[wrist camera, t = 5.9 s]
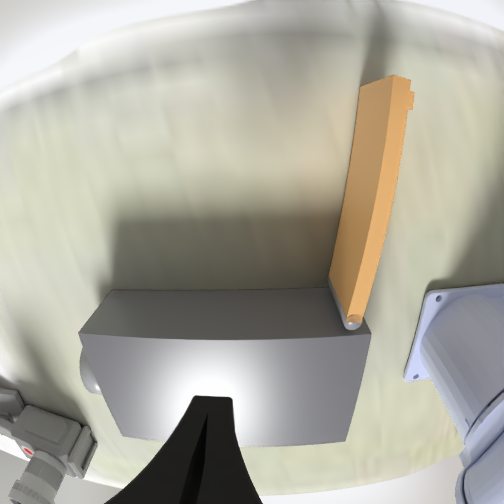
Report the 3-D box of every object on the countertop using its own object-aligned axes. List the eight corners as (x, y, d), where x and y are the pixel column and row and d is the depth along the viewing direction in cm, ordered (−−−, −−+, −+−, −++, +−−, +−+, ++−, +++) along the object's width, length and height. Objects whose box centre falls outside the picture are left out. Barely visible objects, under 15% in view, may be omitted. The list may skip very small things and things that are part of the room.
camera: (73, 538, 17) (-30, 482, 17) (104, 456, 28) (9, 420, 28) (34, 505, 14) (-69, 436, 14) (83, 409, 25) (-18, 372, 25)
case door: (348, 287, 19) (369, 331, 15) (325, 285, 19) (342, 329, 15) (384, 92, 15) (423, 84, 10) (359, 86, 15) (392, 74, 10)
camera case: (348, 286, 19) (371, 333, 15) (333, 390, 23) (345, 441, 18) (91, 289, 20) (55, 330, 15) (122, 387, 23) (102, 432, 18)
